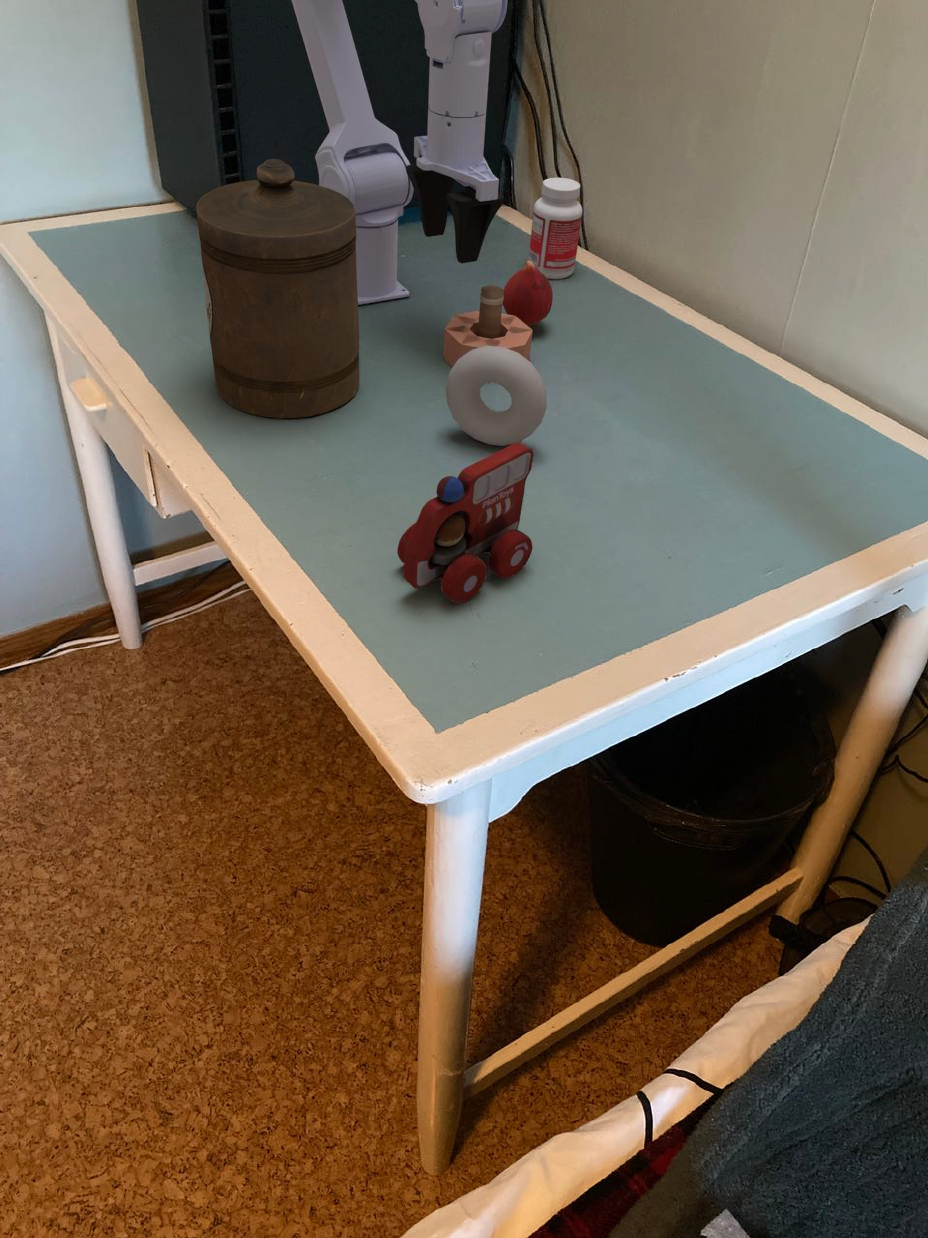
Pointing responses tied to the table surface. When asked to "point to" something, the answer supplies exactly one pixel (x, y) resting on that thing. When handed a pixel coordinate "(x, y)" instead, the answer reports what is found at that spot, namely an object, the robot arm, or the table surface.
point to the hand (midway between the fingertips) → (450, 247)
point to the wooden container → (281, 293)
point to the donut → (507, 373)
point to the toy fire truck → (471, 526)
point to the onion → (528, 295)
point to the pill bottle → (556, 228)
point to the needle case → (490, 311)
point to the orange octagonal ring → (465, 331)
